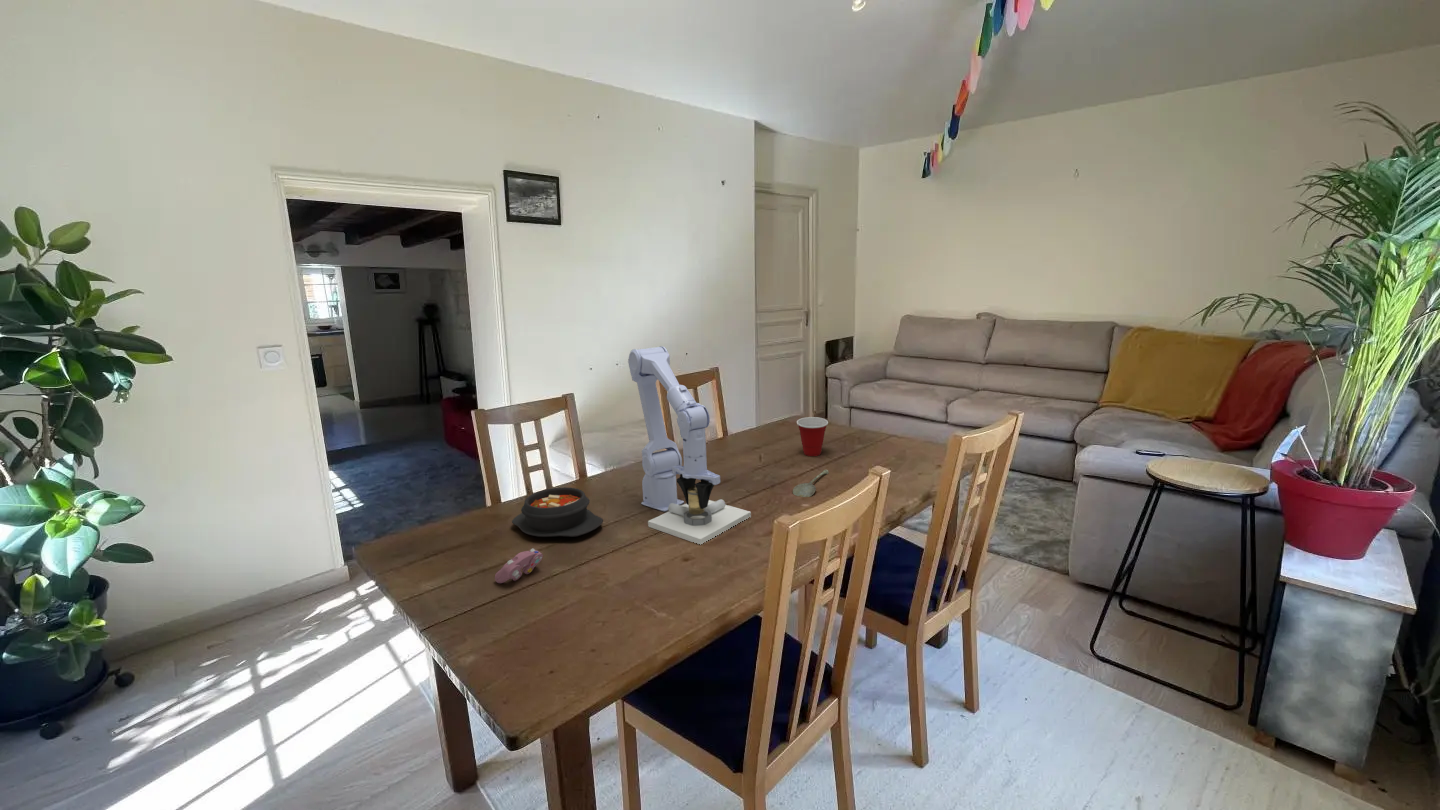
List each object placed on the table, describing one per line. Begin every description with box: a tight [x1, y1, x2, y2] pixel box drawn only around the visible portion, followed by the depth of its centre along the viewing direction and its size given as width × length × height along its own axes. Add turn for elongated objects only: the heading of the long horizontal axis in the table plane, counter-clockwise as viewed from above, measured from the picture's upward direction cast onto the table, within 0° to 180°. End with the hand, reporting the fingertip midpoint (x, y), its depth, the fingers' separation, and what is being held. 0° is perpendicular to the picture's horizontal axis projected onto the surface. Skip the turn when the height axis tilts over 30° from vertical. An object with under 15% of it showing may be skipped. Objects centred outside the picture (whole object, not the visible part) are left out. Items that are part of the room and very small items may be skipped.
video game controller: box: [494, 548, 544, 584], centre depth 129 cm, size 10×5×7 cm, turn 148°
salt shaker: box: [688, 486, 704, 514], centre depth 150 cm, size 4×4×6 cm
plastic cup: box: [796, 416, 829, 457], centre depth 206 cm, size 11×11×12 cm
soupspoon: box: [792, 469, 830, 498], centre depth 178 cm, size 22×3×7 cm
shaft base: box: [647, 498, 752, 546], centre depth 154 cm, size 18×20×4 cm
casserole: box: [511, 487, 604, 538], centre depth 153 cm, size 25×19×8 cm
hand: (697, 505), depth 151 cm, fingers closed on salt shaker, 4 cm apart
